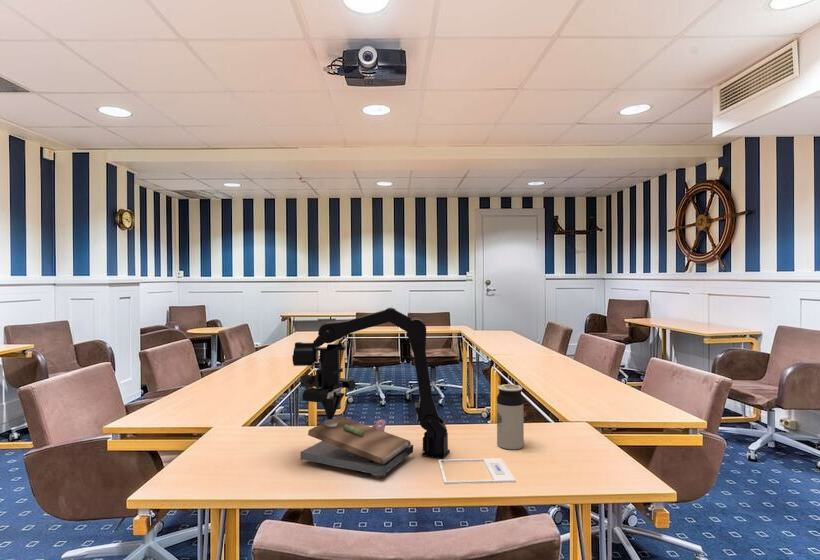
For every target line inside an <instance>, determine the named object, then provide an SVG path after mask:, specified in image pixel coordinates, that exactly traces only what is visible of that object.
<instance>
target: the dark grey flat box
mask: <svg viewBox="0 0 820 560" xmlns="http://www.w3.org/2000/svg"><path fill="white" fill-rule="evenodd" d="M413 453H414V445H413V444H410V445H409V446H408V447H407V448H405V449H404V450H403V451H401V452H400V453H399V454H397V455H396V456H395V457H393V458H392V459H390V460H389V461H388V462H386V463H385V464H380V463H378V462H375V461H373V460H370V459H368V458H365V457H362V456H360V455H357V454H355V453H352V452H350V451H347V450H345V449H342V448H339V447H337V446H334V445H332V444H329V443H327V442H324V441H322V440H320V441H319V442H318V443H315V444H313V445H312V446H309V447H307V448H305V449H303V450H302V451H301V450H300V460H303V461H309V462H312V463H316V464H317V463H318V464H323V465H328V466H333V467H337V468H343V469H347V470H352V471H359V472H361V473H367V474H370V475H371V477H372V478H375V479H380V478H381V479H382V478H384V477H385V476H386V474H387V473H388V472H389V471H391V470H392V469H394V468H395V467H396V466H397V465H398V464H400V463H402V462H404V461H406V460H405V459H406V458H408V457H409V456H410V455H411V454H413Z"/></svg>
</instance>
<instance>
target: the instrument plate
mask: <svg viewBox="0 0 820 560" xmlns="http://www.w3.org/2000/svg"><path fill="white" fill-rule="evenodd" d="M307 436H309V437H312V438H314V439H317V440H319V441H324V442H327V443H329V444H332V445H334V446H337V447H339V448H342V449H345V450H347V451H350V452H352V453H355V454H357V455H360V456H362V457H365V458H368V459H370V460H373V461H375V462H378V463H380V464H385V463H386V462H388V461H389V460H390V459H392V458H393V457H395V456H396V455H397V454H399V453H400V452H401V451H403V450H404V449H405V448H407V447H408V446H409V445H412V443H411V441H410V440H409V439H406V438H403V437H400V436H398V435H395V434H392V433H390V432H386V431H385V430H384V431H381V430H378V429H375V428H372V426H369V425H366V424H365V423H364V424H363V423H361V422H358V421H355V420H352V419H349V418H347V417H345V416H341V415H338V416H336V417H333V419H331V420H330V419H328V420H323V423H321V424H318V425H317V426H315V427H312V428H310V429H308V433H307Z"/></svg>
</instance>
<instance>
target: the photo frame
mask: <svg viewBox="0 0 820 560" xmlns="http://www.w3.org/2000/svg"><path fill="white" fill-rule="evenodd" d="M437 462H438V467H439V470H440V474H441V477H442V481H443V484H444V485H460V484H459V483H471V484H498V483H499V484H503V482H504V483H505V482H506V484H507V482H509V483H517V480H516V478H515V477H514V475H513V474H512V472H511V471H510V468H509V467H508V466H507V464H506V463H505V461H504V459H503V458H502V457H501V458H500V457H497V458H496V457H495V458H493V457H491V458H460V459H459V458H457V459H456V458H455V459H451V458H450V459H438V460H437ZM442 462H443V463H462V462H463V463H464V462H465V463H466V462H471V463H472V462H483V463H484V465H485V467H486V469H487V471H488V473H489V474H490V477H491V478H492V479H478V480H477V479H472V480H470V479H469V480H447V477H446V475H445V471H444V467H443V463H442ZM494 482H495V483H494ZM450 483H451V484H450Z"/></svg>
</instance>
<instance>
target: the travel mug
mask: <svg viewBox="0 0 820 560" xmlns="http://www.w3.org/2000/svg"><path fill="white" fill-rule="evenodd" d="M497 389H498V394H497V396H496V444H497V446H498V447H500V448H502V449H505V450H519V449H521V448H523V447H524V445H525V444H524V443H525V440H524V439H525V437H524V434H525V433H524V429H525V428H524V423H525V422H524V416H525V415H524V397H523V395H522V390H523V386H521V385H518V384H511V383H510V384H509V383H508V384H504V383H503V384H500V385H497Z"/></svg>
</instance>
